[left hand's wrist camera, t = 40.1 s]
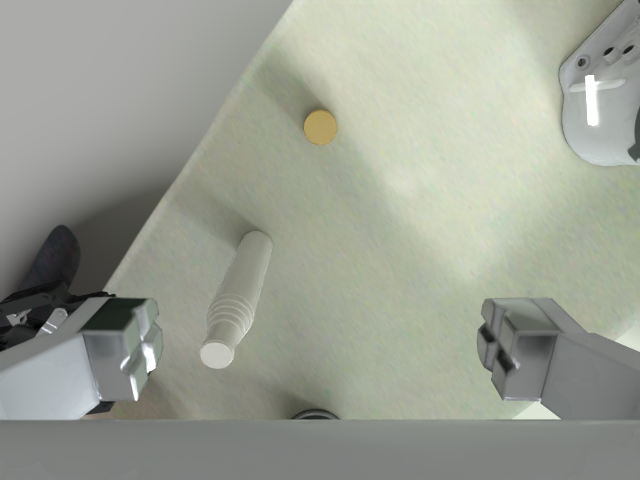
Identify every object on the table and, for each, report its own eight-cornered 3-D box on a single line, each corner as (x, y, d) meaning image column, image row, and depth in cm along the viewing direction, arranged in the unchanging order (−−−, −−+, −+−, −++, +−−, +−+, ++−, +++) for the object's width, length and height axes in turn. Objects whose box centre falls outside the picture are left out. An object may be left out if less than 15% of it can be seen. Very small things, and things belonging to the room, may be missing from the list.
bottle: (274, 232, 56) (244, 336, 34) (271, 262, 57) (241, 379, 35) (241, 228, 55) (189, 330, 33) (239, 258, 57) (188, 374, 35)
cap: (326, 102, 49) (327, 104, 47) (341, 132, 51) (342, 134, 48) (298, 118, 50) (297, 121, 48) (314, 147, 51) (313, 150, 49)
